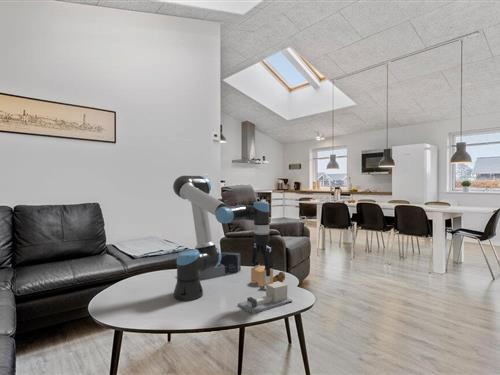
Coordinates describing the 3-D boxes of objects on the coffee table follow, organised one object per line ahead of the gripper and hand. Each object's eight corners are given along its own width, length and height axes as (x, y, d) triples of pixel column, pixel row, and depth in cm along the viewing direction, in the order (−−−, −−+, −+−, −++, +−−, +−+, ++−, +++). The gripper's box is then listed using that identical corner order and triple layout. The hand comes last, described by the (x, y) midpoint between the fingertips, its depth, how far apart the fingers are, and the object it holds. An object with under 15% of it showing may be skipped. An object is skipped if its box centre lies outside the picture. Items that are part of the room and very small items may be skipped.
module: (251, 282, 143) (251, 268, 143) (264, 279, 148) (264, 265, 148) (259, 286, 137) (259, 271, 137) (273, 283, 142) (272, 268, 142)
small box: (241, 270, 202) (240, 252, 202) (237, 273, 196) (237, 255, 195) (223, 268, 206) (223, 251, 206) (219, 271, 199) (219, 254, 199)
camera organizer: (183, 275, 191) (183, 266, 191) (213, 269, 204) (213, 261, 204) (193, 281, 178) (193, 271, 178) (225, 275, 190) (224, 266, 190)
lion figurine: (284, 285, 170) (284, 270, 170) (286, 289, 164) (286, 272, 164) (259, 287, 168) (259, 271, 168) (260, 290, 163) (260, 274, 163)
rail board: (238, 305, 142) (238, 288, 142) (276, 294, 155) (276, 279, 155) (252, 313, 132) (252, 296, 132) (292, 302, 145) (292, 285, 145)
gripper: (244, 231, 149) (244, 276, 149) (267, 236, 132) (268, 287, 132) (256, 230, 153) (256, 274, 153) (280, 235, 136) (281, 284, 136)
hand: (262, 280), depth 143 cm, fingers closed on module, 7 cm apart
